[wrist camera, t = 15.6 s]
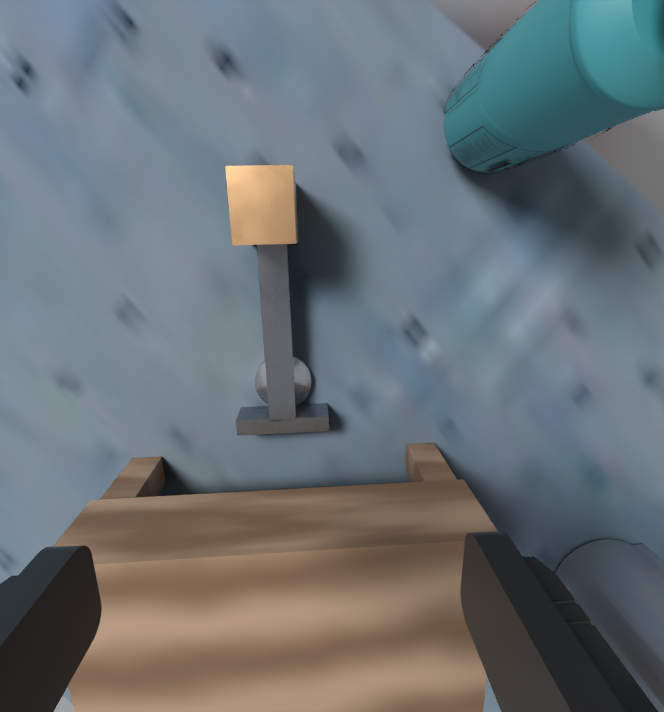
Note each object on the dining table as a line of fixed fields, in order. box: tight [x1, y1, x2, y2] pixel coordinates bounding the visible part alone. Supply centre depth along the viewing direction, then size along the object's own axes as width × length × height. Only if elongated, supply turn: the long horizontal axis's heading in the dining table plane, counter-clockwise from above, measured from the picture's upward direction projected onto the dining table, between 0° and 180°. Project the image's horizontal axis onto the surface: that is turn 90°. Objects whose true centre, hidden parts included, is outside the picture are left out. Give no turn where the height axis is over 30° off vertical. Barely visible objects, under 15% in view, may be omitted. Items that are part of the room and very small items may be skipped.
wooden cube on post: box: [225, 165, 329, 436], centre depth 27 cm, size 18×7×8 cm, turn 1°
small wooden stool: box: [53, 443, 497, 712], centre depth 31 cm, size 16×26×12 cm, turn 91°
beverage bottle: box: [444, 0, 664, 174], centre depth 19 cm, size 6×7×20 cm
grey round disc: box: [255, 355, 311, 406], centre depth 32 cm, size 4×4×1 cm
